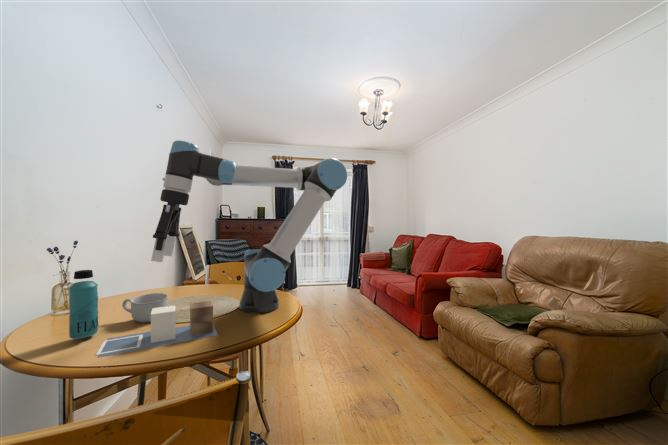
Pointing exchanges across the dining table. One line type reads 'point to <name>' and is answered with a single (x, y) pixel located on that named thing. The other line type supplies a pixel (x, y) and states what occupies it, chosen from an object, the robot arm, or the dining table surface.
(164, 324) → the cream block
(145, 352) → the dining table surface
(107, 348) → the plan sheet
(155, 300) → the teacup
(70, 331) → the beverage bottle
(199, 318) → the walnut block
